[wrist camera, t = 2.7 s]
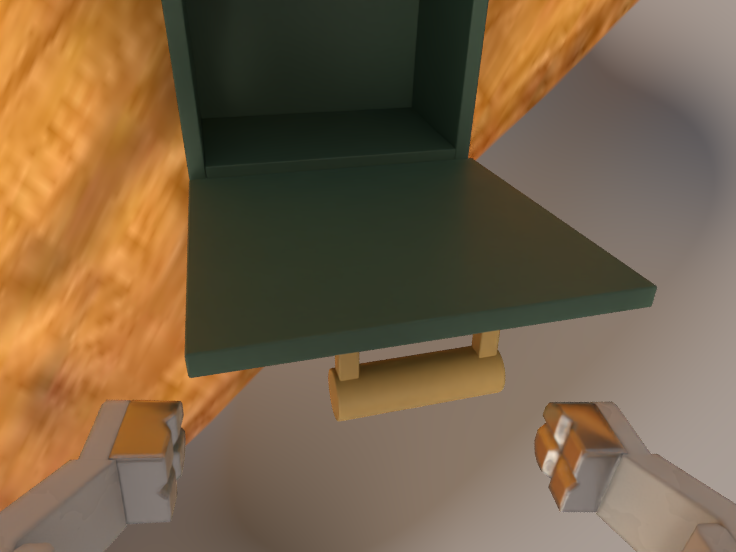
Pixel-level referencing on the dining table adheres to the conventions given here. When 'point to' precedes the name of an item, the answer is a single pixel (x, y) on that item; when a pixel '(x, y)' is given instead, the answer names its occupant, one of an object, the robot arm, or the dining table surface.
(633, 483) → the robot arm
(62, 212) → the dining table surface
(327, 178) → the lid
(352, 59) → the bread bin
